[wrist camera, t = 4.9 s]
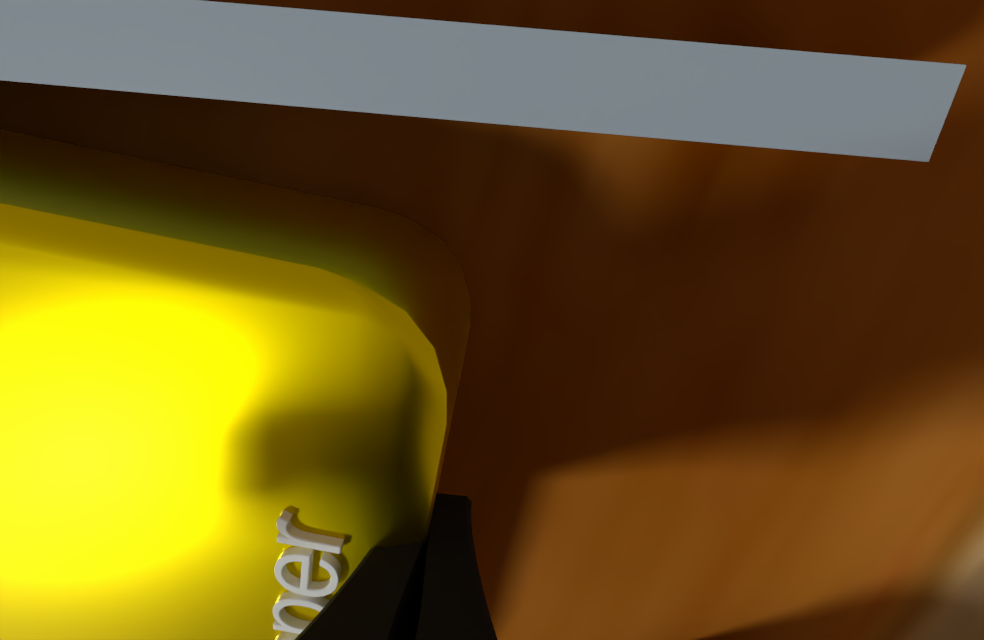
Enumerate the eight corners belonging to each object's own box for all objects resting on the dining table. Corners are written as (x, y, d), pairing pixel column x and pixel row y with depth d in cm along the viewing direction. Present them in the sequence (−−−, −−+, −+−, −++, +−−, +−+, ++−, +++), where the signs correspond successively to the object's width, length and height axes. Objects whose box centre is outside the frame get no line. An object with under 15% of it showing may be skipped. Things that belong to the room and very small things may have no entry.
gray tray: (601, 768, 18) (620, 944, 14) (-94, 691, 18) (-249, 843, 15) (794, 72, 9) (966, 65, 6) (-508, -39, 10) (-1119, -112, 6)
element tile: (400, 676, 17) (359, 878, 13) (-72, 590, 17) (-281, 768, 12) (491, 225, 11) (469, 316, 7) (-244, 73, 11) (-766, 66, 6)
